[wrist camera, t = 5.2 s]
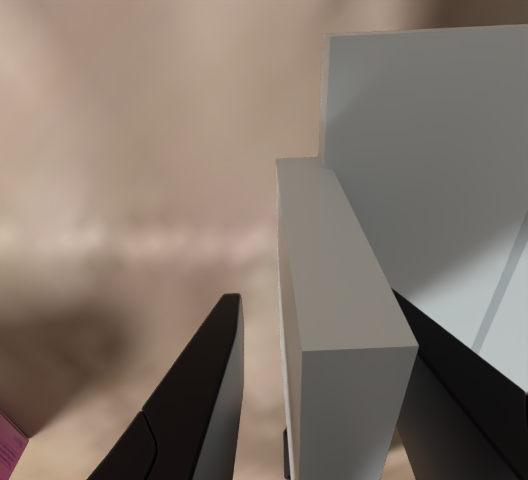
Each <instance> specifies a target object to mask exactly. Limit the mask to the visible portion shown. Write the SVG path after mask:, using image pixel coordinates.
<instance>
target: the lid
mask: <svg viewBox="0 0 528 480" xmlns="http://www.w3.org/2000/svg"><path fill="white" fill-rule="evenodd" d="M276 199H277V240H278V281H279V321H280V344H281V357H282V370H283V383H284V396H285V409H286V422H287V435H288V448H289V461H290V474H291V480H380V478H381V475H382V471H383V468H384V465H385V461H386V458H387V454H388V451H389V447H390V444H391V440H392V437H393V434H394V430H395V427H396V423H397V420H398V416H399V413H400V410H401V406H402V403H403V399H404V396H405V392H406V389H407V385H408V382H409V379H410V375H411V372H412V368H413V365H414V361H415V358H416V354H417V351H418V348H419V345H418V343H417V341H416V339H415V337H414V335H413V333H412V331H411V329H410V326H409V324H408V322H407V320H406V318H405V316H404V314H403V312H402V310H401V308H400V306H399V304H398V302H397V300H396V298H395V296H394V294H393V292H392V290H391V288H393V289H394V290H395V291H397V292H398V293H399V294H400V295H402V296H403V297H404V298H406V299H407V300H408V301H409V302H411V303H412V304H413V305H415V306H416V307H417V308H418V309H420V310H421V311H422V312H424V313H425V314H426V315H428V316H429V317H430V318H431V319H433V320H434V321H435V322H437V323H438V324H439V325H440V326H442V327H443V328H444V329H446V330H447V331H448V332H449V333H451V334H452V335H453V336H455V337H456V338H457V339H458V340H460V341H461V342H462V343H464V344H465V345H466V346H467V347H469V348H470V349H471V350H473V351H474V352H475V353H477V354H478V355H479V356H480V357H482V358H483V359H484V360H486V361H487V362H488V363H489V364H491V365H492V366H493V367H495V368H496V369H497V370H498V371H500V372H501V373H502V374H504V375H505V376H506V377H507V378H509V379H510V380H511V381H513V382H514V383H515V384H516V385H518V386H519V387H520V388H522V389H523V390H524V391H525V392H528V24H516V25H495V26H475V27H454V28H434V29H413V30H393V31H373V32H352V33H332V34H323V54H322V77H321V101H320V124H319V147H318V157H303V158H282V159H276Z"/></svg>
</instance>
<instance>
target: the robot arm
mask: <svg viewBox="0 0 528 480" xmlns="http://www.w3.org/2000/svg"><path fill="white" fill-rule="evenodd" d="M391 290H392V292H393V294H394V296H395V298H396V300H397V302H398V304H399V306H400V308H401V310H402V312H403V314H404V316H405V318H406V320H407V322H408V324H409V326H410V329H411V331H412V333H413V335H414V337H415V339H416V341H417V343H418V345H419V348H418V351H417V354H416V358H415V361H414V365H413V368H412V372H411V375H410V379H409V382H408V385H407V389H406V392H405V396H404V399H403V403H402V406H401V410H400V413H399V416H398V420H397V423H396V425H397V427H398V430H399V433H400V436H401V439H402V442H403V445H404V447H405V450H406V453H407V456H408V459H409V462H410V465H411V467H412V470H413V473H414V476H415V479H416V480H528V394H526V393H525V391H524V390H523V389H522V388H520V387H519V386H518V385H516V384H515V383H514V382H513V381H511V380H510V379H509V378H507V377H506V376H505V375H504V374H502V373H501V372H500V371H498V370H497V369H496V368H495V367H493V366H492V365H491V364H489V363H488V362H487V361H486V360H484V359H483V358H482V357H480V356H479V355H478V354H477V353H475V352H474V351H473V350H471V349H470V348H469V347H467V346H466V345H465V344H464V343H462V342H461V341H460V340H458V339H457V338H456V337H455V336H453V335H452V334H451V333H449V332H448V331H447V330H446V329H444V328H443V327H442V326H440V325H439V324H438V323H437V322H435V321H434V320H433V319H431V318H430V317H429V316H428V315H426V314H425V313H424V312H422V311H421V310H420V309H418V308H417V307H416V306H415V305H413V304H412V303H411V302H409V301H408V300H407V299H406V298H404V297H403V296H402V295H400V294H399V293H398V292H397V291H395V290H394V289H393V288H391ZM243 388H244V317H243V307H242V298H241V295H240V294H239V293H229V294H224V295H223V296H222V297H221V298H220V300H219V301H218V302H217V304H216V305H215V307H214V308H213V309H212V311H211V312H210V314H209V315H208V316H207V318H206V319H205V321H204V322H203V323H202V325H201V326H200V328H199V329H198V330H197V332H196V333H195V335H194V336H193V337H192V339H191V340H190V342H189V343H188V344H187V346H186V347H185V349H184V350H183V351H182V353H181V354H180V356H179V357H178V358H177V360H176V361H175V362H174V364H173V365H172V367H171V368H170V369H169V371H168V372H167V374H166V375H165V376H164V378H163V379H162V381H161V382H160V383H159V385H158V386H157V388H156V389H155V390H154V392H153V393H152V395H151V396H150V397H149V399H148V400H147V402H146V403H145V404H144V406H143V407H142V411H143V412H142V411H140V412H138V414H137V415H136V417H135V418H134V419H133V421H132V422H131V424H130V425H129V427H128V428H127V429H126V431H125V432H124V433H123V435H122V436H121V437H120V439H119V440H118V441H117V443H116V444H115V445H114V447H113V448H112V449H111V450H110V452H109V453H108V454H107V456H106V457H105V458H104V459H103V460H102V462H101V463H100V464H99V465H98V466H97V468H96V469H95V470H94V471H93V472H92V474H91V475H90V476H89V477H88V478H87V480H233V472H234V463H235V455H236V447H237V439H238V431H239V423H240V414H241V406H242V398H243ZM283 442H284V477H285V479H287V480H291V474H290V461H289V448H288V435H287V429H285V430H284V432H283Z"/></svg>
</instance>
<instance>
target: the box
mask: <svg viewBox="0 0 528 480" xmlns="http://www.w3.org/2000/svg"><path fill="white" fill-rule="evenodd" d="M28 442H29V439H28V438H27V437H26V436H25V435H24V434H23V433H22V432H21V431H20V429H19V428H18V427H17V426H16V425H15V424H14V423H13V422H12V421H11V420H10V419H9V418H8V417H7V416H6V415H5V414H4V413H3V412H2V411H1V410H0V480H9V478H10V476H11V474H12V472H13V470H14V468H15V466H16V465H17V463H18V461H19V459H20V457H21V455H22V453H23V451H24V449H25V448H26V446H27V444H28Z"/></svg>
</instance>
